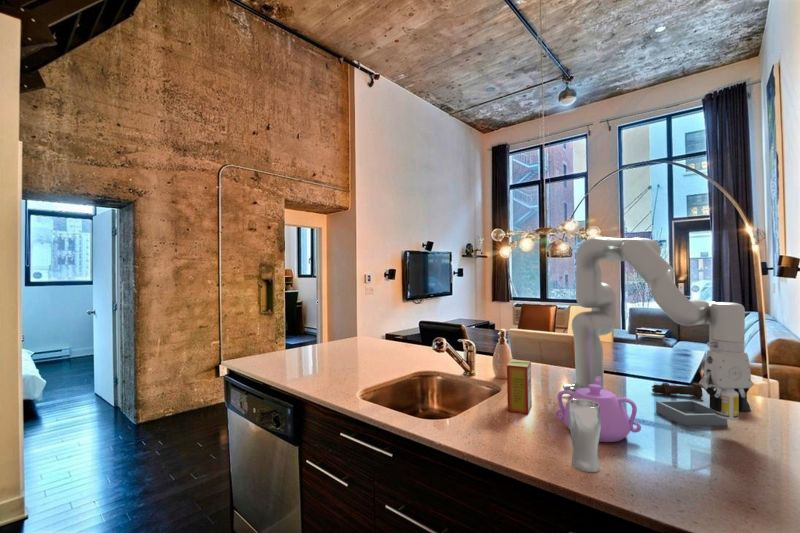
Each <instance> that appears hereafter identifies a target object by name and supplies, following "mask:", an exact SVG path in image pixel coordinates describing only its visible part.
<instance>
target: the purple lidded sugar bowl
mask: <svg viewBox="0 0 800 533" xmlns="http://www.w3.org/2000/svg"><path fill="white" fill-rule="evenodd" d="M588 386H589V388H580V389H577V390H576V391H575V392H572V391H570V390H564V389H563V390H560V392H558V394H557V403H558V406H559V408H558V409H556V410H555V412H554V415H555V418H557V419H558V420H561V421H563V422H564V425H565V426H567V428H568V429H569V430H570V427H569V401H570V400H571V399H588V400H592V401H595V402H597V403H599V405H600V415H601V433H600V439H599V443H615V442H620V441H622V440H623V439H625V438H626V437H627V436H629V434H630V432H632V433H635V434H636V433H639V432H641V430H642V425H641V424H640V423H639V422H637V421H635V420H636V416H637V411H638V408H637V405H636V403H635V402H634V401H633V400H632V399H631V398H629V397H628V398H627V397H624V396H623V397H618V396H616V394H615V393H614V392H612V391H609V390H607V389H604V390H603V389H602V386H601V377H600V376H597V377H596V378H595V382H594V384H590V385H588ZM563 395H570V397H569V399H568V401H567V403H566V405H565V406H564V403H563V398H562V397H563ZM623 402H624V403H627V404H629V405H630V406H631V408H632V410H631V414H630V417H629V416H628V412H627V410H626V409H625V407H624V405H623V404H622V403H623ZM560 414H561V415H560ZM634 426H636V427H634Z"/></svg>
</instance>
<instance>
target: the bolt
mask: <svg viewBox="0 0 800 533" xmlns="http://www.w3.org/2000/svg"><path fill="white" fill-rule="evenodd" d="M651 391H652V393H654V394H663V395H664V396H666V397H670V396H671V395H682V396H683V395H684V396H693V397H695V398H696V399H702V398H703V395H704V394H703V387H701V386H700V385H699V382H692V384H691V385H680V384H679V385H672V384H669V383H668V382H662V383H661V384H653V385H652V386H651Z"/></svg>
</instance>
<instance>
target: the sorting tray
mask: <svg viewBox="0 0 800 533" xmlns="http://www.w3.org/2000/svg"><path fill="white" fill-rule="evenodd" d="M655 409H656V410H655V412H656V413H657V414H659V415H661V414H662V416H663V415H664V417H665V418H667V417H668V418H667V419H669V418H670V419H669V420H671V419H672V421H673V420H674V421H673V422H675V421H676V422H675V423H677V424H680V425H681V426H683V427H685V428H699V427H701V428H702V427H703V428H704V427H728V419H724V418H720V417H718V416H716V415H715V414H714V410H713V409H711V408H710V407H709V405H705V404H703V403H700V402H698V401H696V400H693V399H692V400H658V401H657V400H656V401H655Z"/></svg>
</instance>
